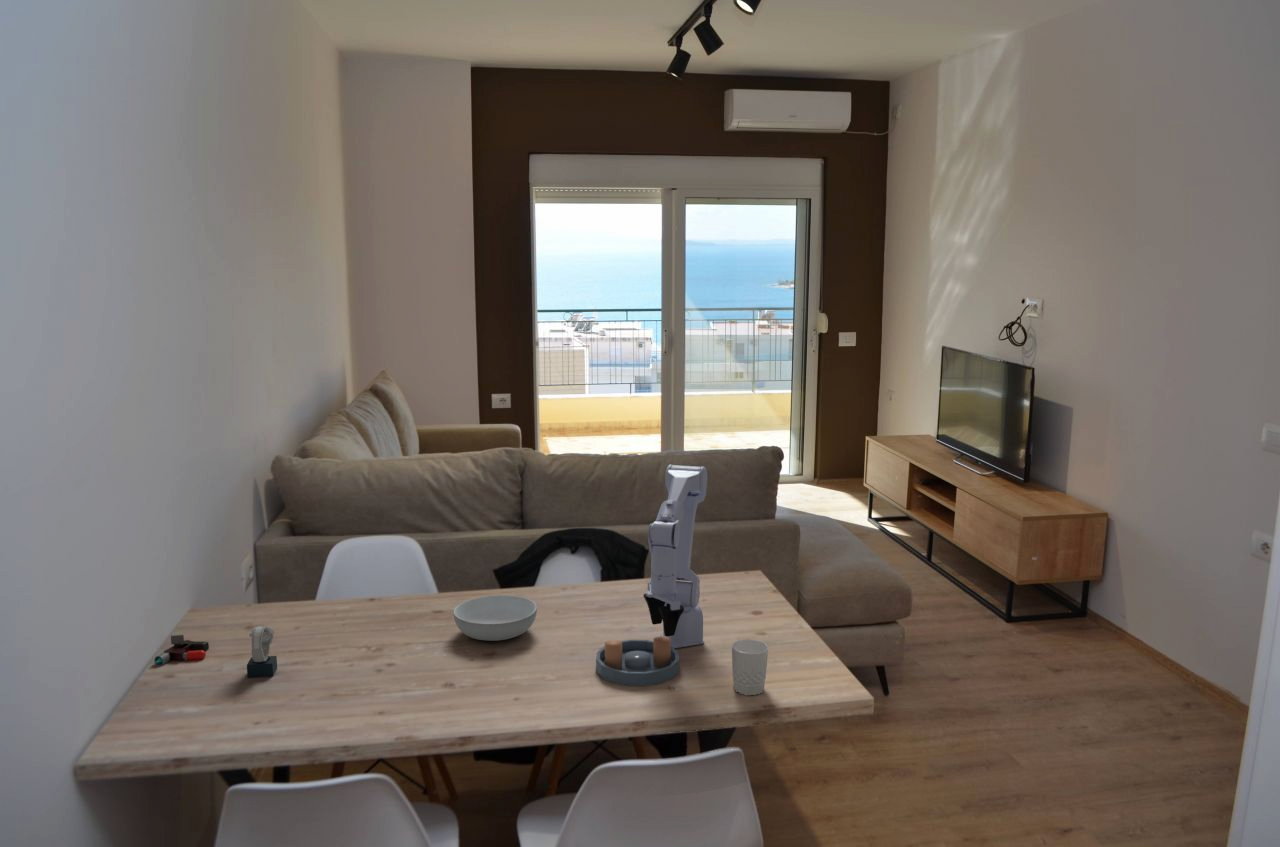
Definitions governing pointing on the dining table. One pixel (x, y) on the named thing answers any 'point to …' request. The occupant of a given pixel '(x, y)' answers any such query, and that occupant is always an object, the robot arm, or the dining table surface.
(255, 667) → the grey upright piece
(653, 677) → the ring tray
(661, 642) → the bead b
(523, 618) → the serving bowl
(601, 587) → the dining table surface
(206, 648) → the toy gun
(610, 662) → the tan wooden cylinder
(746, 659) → the grey cup
